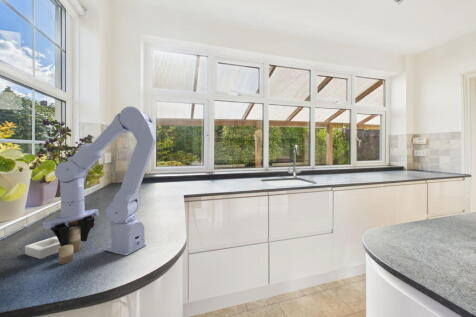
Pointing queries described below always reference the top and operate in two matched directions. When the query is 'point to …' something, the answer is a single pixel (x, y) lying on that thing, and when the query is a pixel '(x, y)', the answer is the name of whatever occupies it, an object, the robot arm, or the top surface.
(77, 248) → the long pin
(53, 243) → the collar
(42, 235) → the top surface
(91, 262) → the top surface
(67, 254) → the short pin
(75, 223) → the pottery mug
